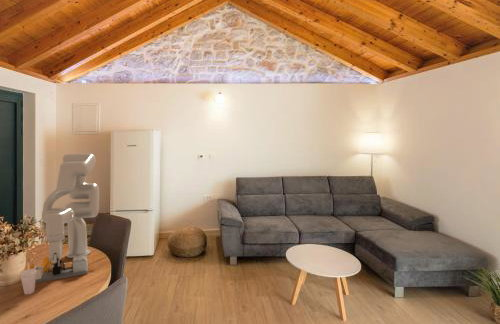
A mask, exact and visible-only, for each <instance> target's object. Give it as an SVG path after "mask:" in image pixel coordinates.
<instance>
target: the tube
mask: <svg viewBox="0 0 500 324" xmlns="http://www.w3.org/2000/svg"><path fill="white" fill-rule="evenodd" d="M69 269H73V261H69V262H68V261H67V262H62V263H61V264H60V270H61V271H64V270H69ZM47 270H48V271H47V272H48V273H51V272H53V264H52V265H48V269H47Z"/></svg>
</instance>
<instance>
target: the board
mask: <svg viewBox="0 0 500 324" xmlns="http://www.w3.org/2000/svg"><path fill="white" fill-rule="evenodd" d="M88 269H89V265H87V271H83V272H77V273H73V269H69V270H64V271H61V273H60V274H57V275H53V272H51V273H48V271H46V272H44V273H43V276H42V278H41V279H37V280H35V284H36V283H41V282H48V281H54V280H58V279H64V278H71V277H76V276H77V277H78V276H82V275H88Z"/></svg>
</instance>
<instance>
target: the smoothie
mask: <svg viewBox="0 0 500 324" xmlns="http://www.w3.org/2000/svg"><path fill="white" fill-rule="evenodd" d="M29 264H30V262H27V264H26V265H28V270H26V269H24V270H22V271H20V272H19V274H18V275H19V277H20V281H21V285H22V288H23V293H24V295H31V294H34V293H35V290H36V283H35V280H36V273H37V270H36V269H29Z"/></svg>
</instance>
